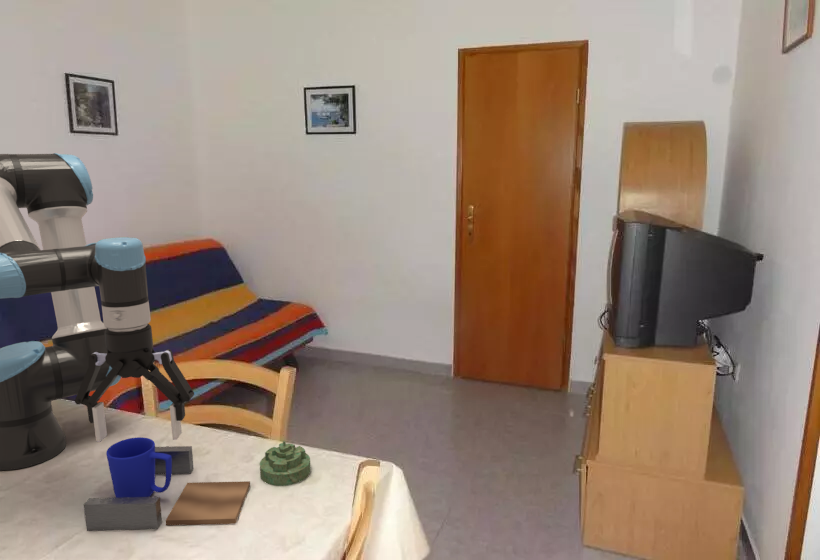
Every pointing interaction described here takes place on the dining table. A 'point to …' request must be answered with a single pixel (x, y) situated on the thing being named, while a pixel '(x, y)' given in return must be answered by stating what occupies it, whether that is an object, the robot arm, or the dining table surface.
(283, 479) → the decorative artifact
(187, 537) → the dining table surface
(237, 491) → the walnut board
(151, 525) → the vise jaws
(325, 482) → the dining table surface
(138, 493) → the mug
